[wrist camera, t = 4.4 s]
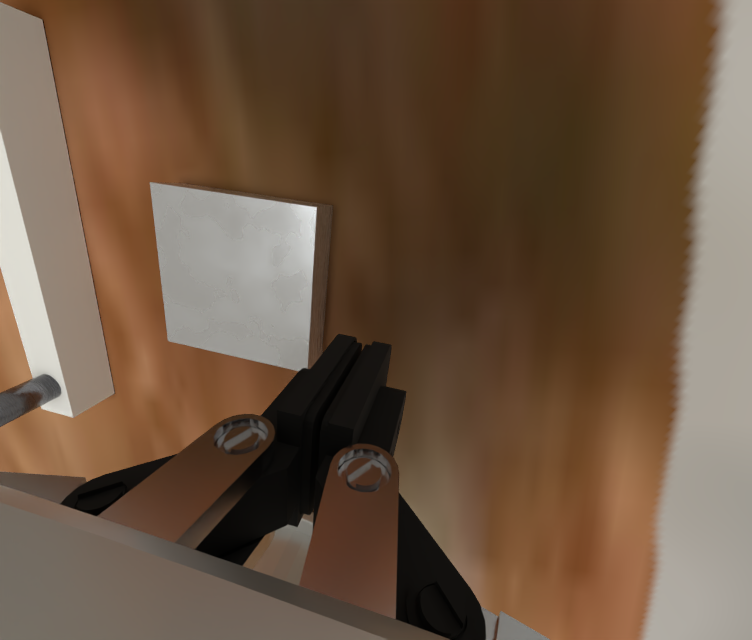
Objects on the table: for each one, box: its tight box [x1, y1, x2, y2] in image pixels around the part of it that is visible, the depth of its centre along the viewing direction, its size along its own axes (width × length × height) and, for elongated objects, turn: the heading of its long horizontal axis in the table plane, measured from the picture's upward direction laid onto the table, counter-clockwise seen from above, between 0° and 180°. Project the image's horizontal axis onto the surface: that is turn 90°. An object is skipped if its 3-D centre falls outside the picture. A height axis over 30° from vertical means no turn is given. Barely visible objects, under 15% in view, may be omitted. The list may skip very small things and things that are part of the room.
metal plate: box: [150, 182, 333, 371], centre depth 22 cm, size 10×10×3 cm
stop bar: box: [0, 2, 115, 427], centre depth 22 cm, size 3×26×8 cm, turn 173°
